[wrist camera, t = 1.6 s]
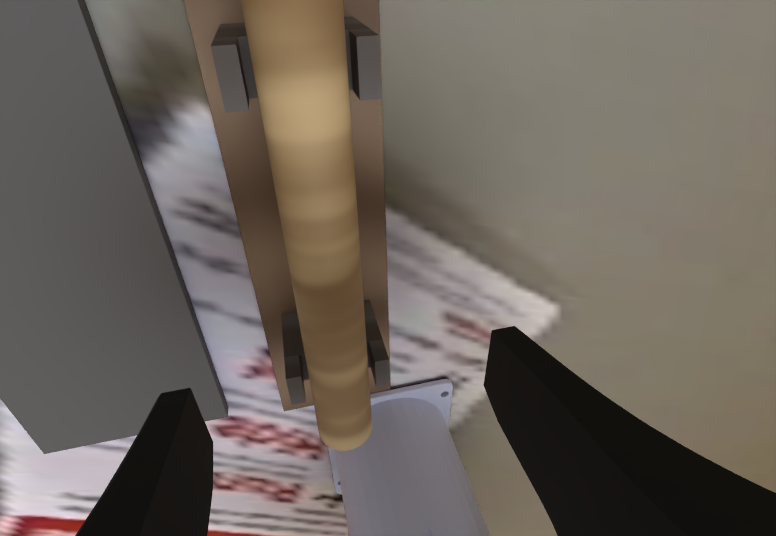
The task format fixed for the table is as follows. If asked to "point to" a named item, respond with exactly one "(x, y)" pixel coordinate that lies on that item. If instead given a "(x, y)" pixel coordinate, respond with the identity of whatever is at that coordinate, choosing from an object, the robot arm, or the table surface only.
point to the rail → (316, 198)
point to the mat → (83, 246)
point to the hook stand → (257, 192)
